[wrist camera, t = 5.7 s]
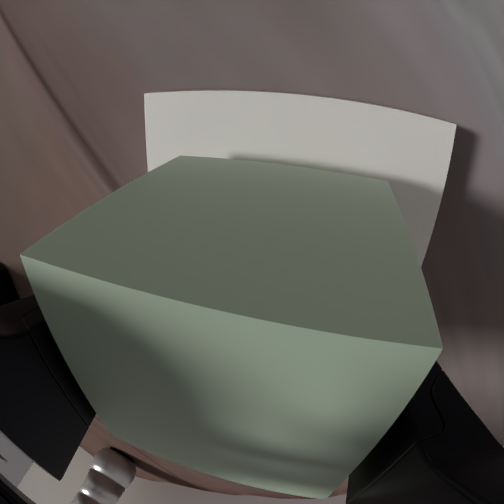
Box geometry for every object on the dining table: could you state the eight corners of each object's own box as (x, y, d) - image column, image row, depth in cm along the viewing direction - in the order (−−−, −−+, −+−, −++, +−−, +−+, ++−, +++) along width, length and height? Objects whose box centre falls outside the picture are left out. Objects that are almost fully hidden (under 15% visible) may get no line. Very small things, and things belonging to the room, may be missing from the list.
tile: (380, 344, 13) (381, 363, 12) (178, 304, 16) (167, 319, 15) (444, 119, 8) (456, 124, 7) (162, 91, 10) (144, 93, 9)
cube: (345, 341, 11) (324, 499, 6) (191, 309, 12) (111, 435, 7) (388, 181, 8) (442, 349, 3) (180, 155, 9) (19, 254, 4)
